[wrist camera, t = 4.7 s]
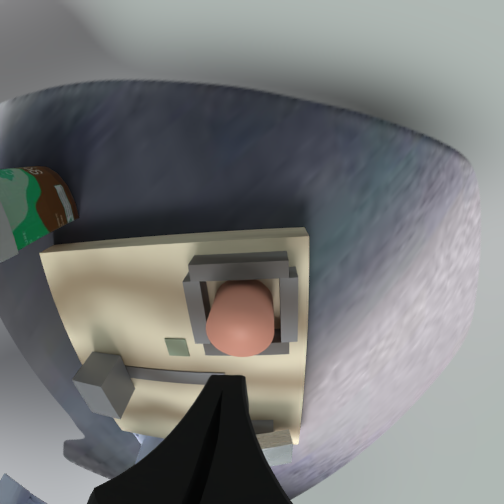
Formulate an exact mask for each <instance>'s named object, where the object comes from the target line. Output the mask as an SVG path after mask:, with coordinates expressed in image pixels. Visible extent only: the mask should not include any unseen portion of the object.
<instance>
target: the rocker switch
mask: <svg viewBox="0 0 504 504" xmlns="http://www.w3.org/2000/svg"><path fill="white" fill-rule="evenodd" d="M256 437H257V439H258V442H259V444H260V447H261V449H262V451H263V453H264V456H265V458H266V460H267V462H268V464H269V466H276V465H281V464H287V463H291V461H292V450H293V442H292V438H291V435H290V431H289V429H287V430H282V431H276V432H270V433H264V434H257V435H256Z"/></svg>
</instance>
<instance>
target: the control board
mask: <svg viewBox="0 0 504 504" xmlns="http://www.w3.org/2000/svg"><path fill="white" fill-rule="evenodd" d="M39 254H40V257H41V261H42V264H43V268H44V271H45V274H46V278H47V281H48V284H49V287H50V290H51V293H52V296H53V298H54V301H55V304H56V307H57V309H58V312H59V314H60V317H61V319H62V322H63V324H64V327H65V329H66V331H67V334H68V336H69V338H70V340H71V342H72V345H73V347H74V349H75V351H76V353H77V355H78V357H79V359H80V361H81V363H82V365H83V364H84V362H85V361H86V360H87V358H88V357H89V356H90V354H91V353H92V351H93V352H99V353H106V354H113V355H120V356H121V358H122V360H123V363H124V365H125V367H126V370H127V372H128V374H129V376H130V378H131V381H132V383H133V385H134V387H135V390H134V392H133V394H132V396H131V398H130V401H129V403H128V405H127V407H126V409H125V411H124V413H123V415H122V417H121V419H117V418H114V420H115V421H116V423H117V424H118V425H119V427H120V428H121V430H124V431H128V432H132V433H137V434H142V435H147V436H152V437H158V438H164V439H165V438H166V437H167V436H168V435H169V434H170V432H171V431H172V430H173V429H174V428H175V427H176V425H177V424H178V423H179V422H180V421H181V419H182V418H183V417H184V416H185V414H186V413H187V411H188V410H189V409H190V407H191V406H192V404H193V403H194V402H195V400H196V399H197V397H198V395H199V394H200V392H201V391H202V389H203V387H204V386H205V384H206V382H207V380H208V379H209V377H210V376H211V375H243V376H245V377H246V385H247V393H248V400H249V414H250V418H251V422H252V425H253V428H254V431H255V434H256V435H257V434H264V433H270V432H276V431H282V430H287V429H289V431H290V435H291V438H292V442H293V445H295V444H298V443H299V434H300V424H301V414H302V404H303V392H304V379H305V365H306V348H307V328H308V299H309V235H308V233H307V231H306V229H305V227H295V228H274V229H255V230H237V231H220V232H204V233H189V234H175V235H161V236H148V237H136V238H123V239H112V240H100V241H89V242H79V243H68V244H58V245H53V246H51V247H49V248H48V249H46V250H44V251H42V252H41V253H39ZM254 279H256V280H258V281H260V282H262V283H263V284H264V285H265V286H266V287H267V288H268V289H269V290H270V292H271V294H272V297H273V308H274V337H273V340H272V342H271V344H270V345H269V346H268V347H267V348H266V349H265V350H264V351H262V352H261V353H259V354H256V355H253V356H249V357H236V356H231V355H228V354H225V353H223V352H221V351H220V350H218V349H217V348H216V347H215V346H214V345H213V344H212V343H211V342H210V340H209V339H208V336H207V333H206V323H207V319H208V316H209V313H210V310H211V307H212V304H213V301H214V298H215V295H216V293H217V290H218V289H219V287H220V286H221V285H222V284H223V283H224V282H226V281H229V280H254Z"/></svg>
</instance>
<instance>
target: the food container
mask: <svg viewBox="0 0 504 504" xmlns="http://www.w3.org/2000/svg"><path fill="white" fill-rule="evenodd" d="M78 218H79V215H78V211H77V207H76V203H75V201H74V199H73V196H72V194H71V192H70V190H69V187H68V185H67V184H66V183H65V182H64V180H63V179H62V178H61V177H60V175H59V174H58V173H56V172H55V171H53V170H52V169H50V168H48V167H44V166H31V167H19V168H9V169H0V263H1V262H3V261H5V260H7V259H9V258H11V257H13V256H15V255H17V254H19V253H18V250H20V249H22V248H24V247H25V246H27V245H29V244H30V243H32V242H34V241H36V240H38V239H39V238H41V237H43V236H45V235H47V234H49V233H50V232H52V231H54V230H56V229H58V228H60V227H62V226H64V225H66V224H68V223H70V222H72V221H74V220H76V219H78Z"/></svg>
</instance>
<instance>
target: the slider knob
mask: <svg viewBox="0 0 504 504" xmlns="http://www.w3.org/2000/svg"><path fill="white" fill-rule="evenodd" d="M72 381H73V383H74V384H75V386H76V388H77V389H78V391H79V392H80V394H81V396H82V397H83V399H84V400H85V402H86V403H87V405H88V406H89V408H90V409H91V411H92V412H94V413H97V414H101V415H105V416H109V417H113V418H117V419H121V417H122V415H123V413H124V411H125V409H126V407H127V405H128V403H129V401H130V398H131V396H132V394H133V392H134V390H135V387H134V385H133V383H132V381H131V378H130V376H129V374H128V372H127V370H126V367H125V365H124V363H123V360H122V358H121V356H120V355H113V354H106V353H99V352H93V351H92V353H91V354H90V356H89V357H88V358H87V360H86V361H85V362H84V364H83V365H82V367H81V368H80V369H79V371H78V372H77V373H76V375H75V376H74V378H73V379H72Z"/></svg>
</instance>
